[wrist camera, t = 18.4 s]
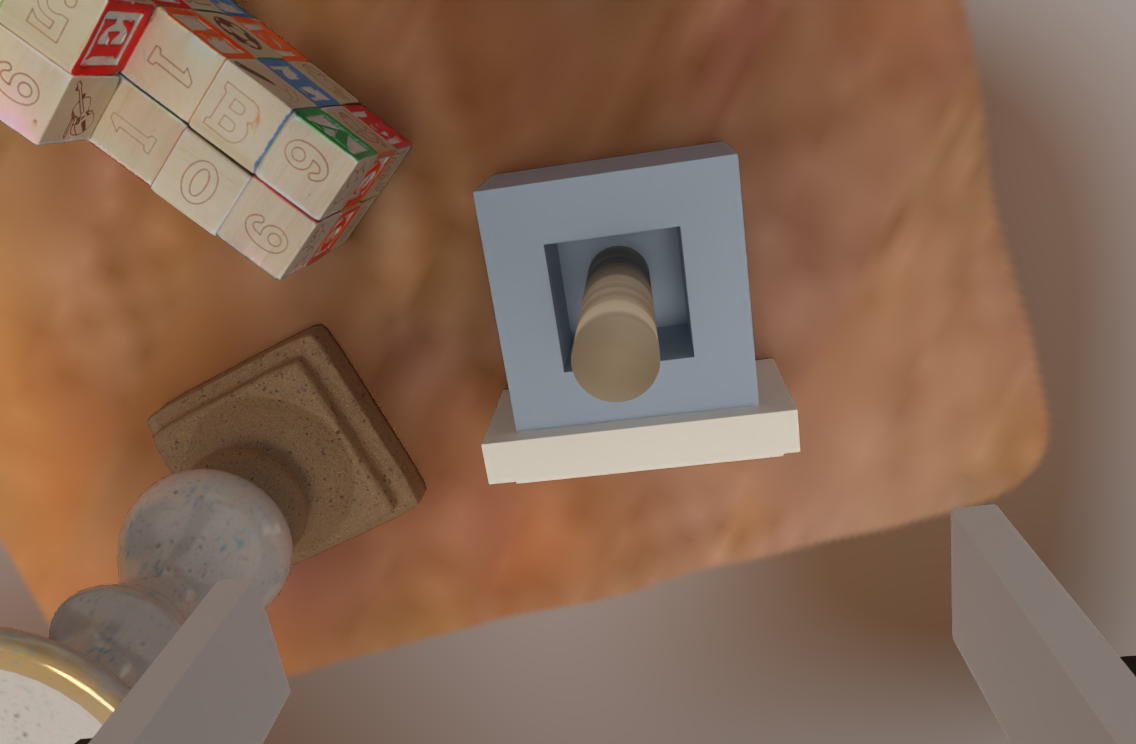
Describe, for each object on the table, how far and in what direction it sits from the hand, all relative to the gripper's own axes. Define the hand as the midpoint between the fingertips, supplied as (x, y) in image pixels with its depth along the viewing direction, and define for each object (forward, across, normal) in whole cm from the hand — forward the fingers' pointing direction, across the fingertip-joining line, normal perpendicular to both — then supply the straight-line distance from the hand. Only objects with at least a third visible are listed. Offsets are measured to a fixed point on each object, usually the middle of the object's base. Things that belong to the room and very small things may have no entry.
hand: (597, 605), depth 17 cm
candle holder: (+29, -19, -8) cm, 35 cm away
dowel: (+28, 0, 0) cm, 28 cm away
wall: (+29, 0, -8) cm, 30 cm away
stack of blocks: (+29, -18, +13) cm, 37 cm away
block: (+29, 0, 0) cm, 29 cm away
